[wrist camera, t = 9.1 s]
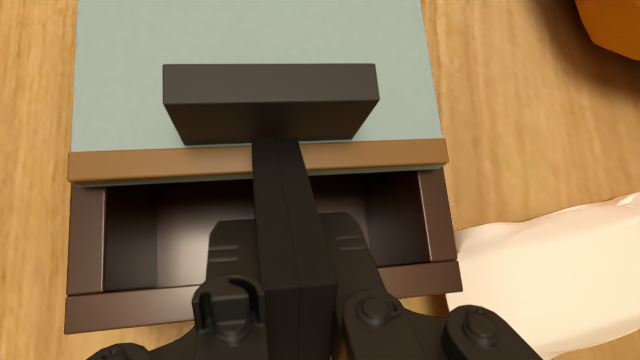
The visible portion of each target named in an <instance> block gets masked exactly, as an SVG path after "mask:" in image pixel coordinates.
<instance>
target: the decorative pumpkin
mask: <svg viewBox="0 0 640 360" xmlns="http://www.w3.org/2000/svg"><path fill="white" fill-rule="evenodd" d="M575 3H576V6H577V9H578V12H579V15H580V18H581V21H582V23H583V25H584V27H585V29H586V31H587V33H588V34H589V36H590V38H591V40H592V42H593V43H594V44H596V45H598V46H601V47H603V48H606V49H608V50H611V51H613V52H616V53H618V54H621V55H623V56H626V57H628V58H631V59H634V60H639V61H640V0H575Z"/></svg>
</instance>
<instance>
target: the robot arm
mask: <svg viewBox="0 0 640 360" xmlns="http://www.w3.org/2000/svg"><path fill="white" fill-rule="evenodd" d="M251 144H252V168H253V192H254V213H255V219H241V220H225V221H218V222H217V224H216V225H215V227H214V228H213V229H212V231H211V232H210V234H209V244H208V256H207V267H206V279H205V281H204V282H203V283H202V284H201V285H200V286H199V287H198V288H197V290H196V291H195V293H194V295H193V298H192V301H191V304H192V310H193V316H194V322H195V326H194V327H193V328H192V329H191V330H190V331H189V332H188V333H187V334H185V335H184V336H183V337H181V338H179V339H177V340H175V341H173V342H171V343H169V344H166V345H164V346H161V347H159V348H156V349H154V350H151V351H148V350H147V349H146V348H145V347H144V346H141V345H137V344H134V343H119V344H114V345H111V346H109V347H106V348H103V349H101V350H99V351H98V352H96V353H95V354H93V355H92V356H90V357H89V358H88V359H86V360H330V359H331V358H332V360H543V359H542V358H541V357H540V356H539V355H538V354H537V353H536V352H535V351H534V350H533V349H532V348H531V346H530V345H529V344H528V343H527V342H526V341H525V340H524V339H523V338H522V337H521V336H520V335H519V334H518V333H517V332H516V331H515V330H514V329H513V328H512V327H511V326H510V325H509V324H508V323H507V322H506V321H505V320H504V319H503V318H501V317H500V316H499V315H498V314H496V313H495V312H493V311H491V310H489V309H486V308H484V307H482V306H476V305H470V304H469V305H462V306H458V307H456V308H455V309H453V310H451V311H450V313H449V315H448V317H447V318H442V317H436V316H430V315H424V314H420V313H416V312H412V311H410V310H408V309H406V308H404V307H403V305H402V304H401V302H400V301H399V300H398V299H397V298H395V297H394V296H393V295H391V294H390V293H388V292H387V290H386V288H385V286H384V283H383V281H382V278H381V276H380V273H379V271H378V268H377V266H376V263H375V261H374V258H373V256H372V254H371V251H370V249H369V246H368V244H367V241H366V239H365V238H364V234H363V231H362V229H361V226H360V224H359V222H358V221H357V220H356V219H355V218H353V217H352V216H351V215H350V214H349V213H348V212H335V213H318V209H317V206H316V202H315V199H314V195H313V192H312V188H311V184H310V181H309V177H308V174H307V170H306V167H305V163H304V160H303V156H302V152H301V149H300V145H299V142H298V138H297V137H285V138H251Z"/></svg>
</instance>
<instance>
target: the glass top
mask: <svg viewBox="0 0 640 360" xmlns="http://www.w3.org/2000/svg"><path fill="white" fill-rule="evenodd" d="M285 137H297V138H298V142H299V145H300V149H301V152H302V156H303V160H304V163H305V167H306V170H307V174H308V176H313V175H332V174H352V173H371V172H391V171H411V170H430V169H439V168H441V167H442V166H444V165H446V164H447V163H448V162H449V159H448V153H447V147H446V141H445V139H444V138H443V137H442V130H441V124H440V118H439V112H438V106H437V100H436V94H435V88H434V82H433V76H432V70H431V63H430V57H429V51H428V45H427V39H426V33H425V27H424V21H423V15H422V9H421V3H420V0H78V2H77V24H76V46H75V69H74V91H73V113H72V135H71V152H70V153H69V154H68V172H67V180H68V181H69V182H70V183H72V184H74V185H76V186H78V187H97V186H117V185H136V184H156V183H175V182H195V181H215V180H234V179H253V168H252V144H251V138H285Z"/></svg>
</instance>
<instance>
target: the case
mask: <svg viewBox="0 0 640 360" xmlns="http://www.w3.org/2000/svg"><path fill="white" fill-rule="evenodd" d="M308 177H309V181H310V184H311V188H312V192H313V195H314V199H315V202H316V206H317V209H318V213H335V212H348V213H349V214H350V215H351V216H352V217H353V218H355V219H356V220H357V221H358V222H359V224H360V226H361V229H362V231H363V234H364V238H365V239H366V241H367V244H368V246H369V249H370V251H371V254H372V256H373V258H374V261H375V263H376V266H377V268H378V271H379V273H380V276H381V278H382V281H383V283H384V286H385V288H386V290H387V292H388V293H390V294H391V295H393V296H394V297H395V298H397V299H402V298H411V297H420V296H430V295H439V294H448V293H458V292H463V286H462V280H461V274H460V267H459V262H458V261H457V258H458V257H457V251H456V245H455V238H454V232H453V226H452V220H451V214H450V207H449V201H448V195H447V189H446V183H445V177H444V170H443V166H442V167H441V168H439V169H430V170H411V171H391V172H371V173H352V174H332V175H313V176H308ZM241 219H255V213H254V192H253V179H234V180H215V181H195V182H175V183H156V184H136V185H117V186H97V187H78V186H76V185H74V184H72V183H71V197H70V220H69V242H68V265H67V288H66V294H67V296H68V297H66V303H65V325H64V334H66V335H68V334H77V333H86V332H95V331H105V330H114V329H123V328H133V327H142V326H151V325H160V324H170V323H179V322H188V321H194V316H193V310H192V304H191V301H192V298H193V295H194V293H195V291H196V290H197V288H198V287H199V286H200V285H201V284H202V283H203V282H204V281H205V279H206V267H207V256H208V244H209V234H210V232H211V231H212V229H213V228H214V227H215V225H216V224H217V222H218V221H225V220H241Z"/></svg>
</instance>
